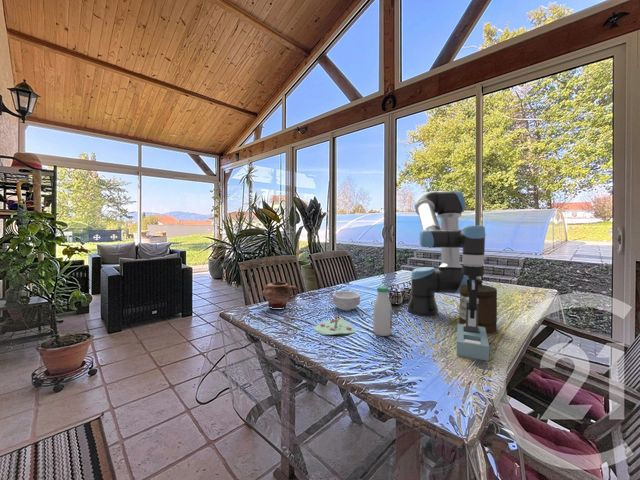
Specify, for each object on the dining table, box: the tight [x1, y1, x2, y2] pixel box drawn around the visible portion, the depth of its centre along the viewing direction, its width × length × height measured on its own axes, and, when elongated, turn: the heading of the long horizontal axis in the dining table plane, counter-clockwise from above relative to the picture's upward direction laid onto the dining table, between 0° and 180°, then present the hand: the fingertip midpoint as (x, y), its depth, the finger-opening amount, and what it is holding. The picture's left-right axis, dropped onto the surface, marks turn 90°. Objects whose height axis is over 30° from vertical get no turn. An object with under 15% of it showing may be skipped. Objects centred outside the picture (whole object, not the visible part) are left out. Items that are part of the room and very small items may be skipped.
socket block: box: [456, 323, 490, 362], centre depth 109 cm, size 10×20×5 cm, turn 154°
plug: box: [466, 297, 479, 332], centre depth 112 cm, size 4×4×12 cm
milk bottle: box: [372, 285, 393, 337], centre depth 123 cm, size 8×8×20 cm
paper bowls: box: [332, 290, 361, 311], centre depth 159 cm, size 15×15×8 cm
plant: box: [312, 309, 357, 336], centre depth 133 cm, size 25×21×9 cm
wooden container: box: [458, 278, 498, 334], centre depth 129 cm, size 15×15×22 cm
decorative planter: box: [261, 281, 299, 308], centre depth 161 cm, size 20×12×14 cm, turn 105°
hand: (471, 323), depth 113 cm, fingers closed on plug, 4 cm apart
